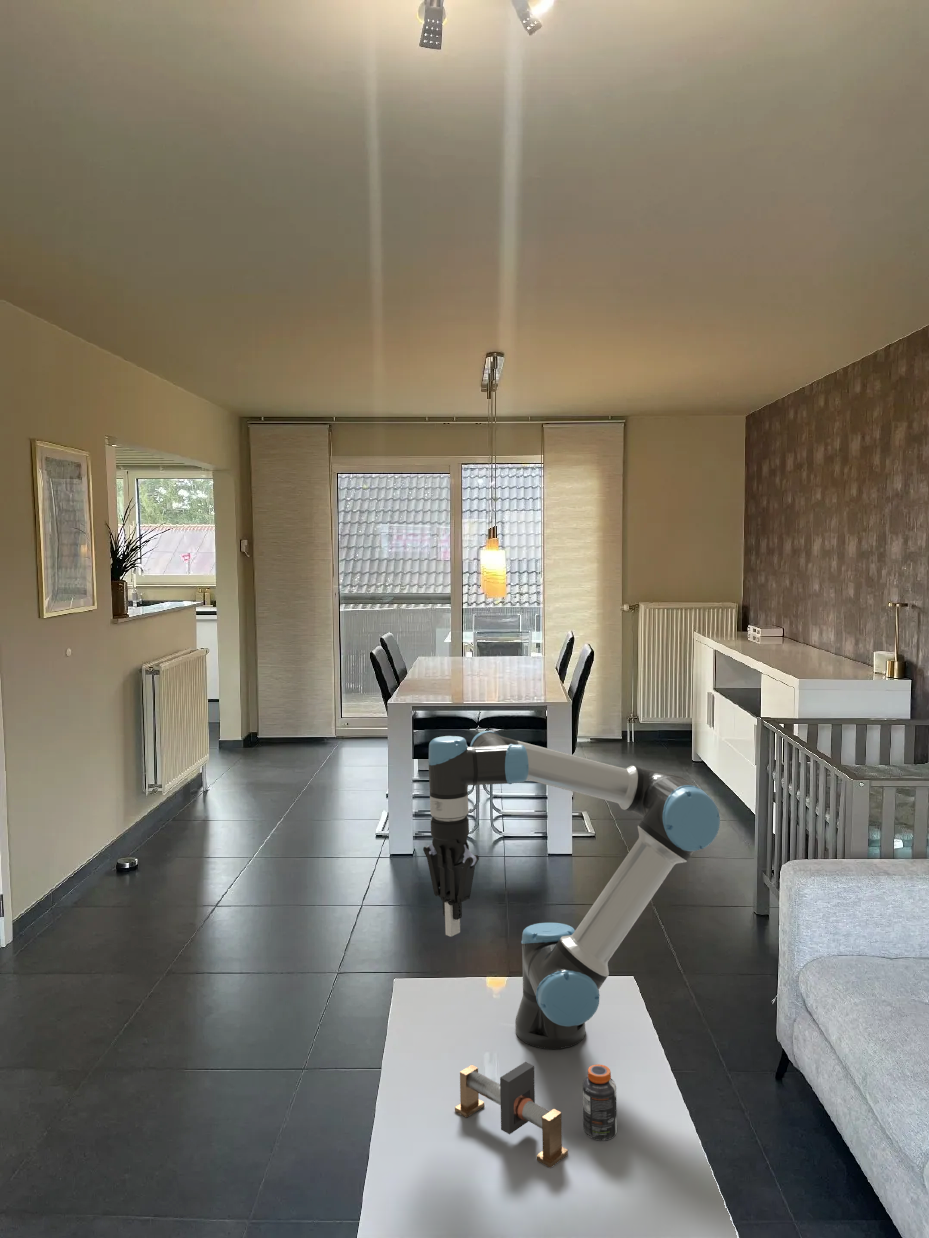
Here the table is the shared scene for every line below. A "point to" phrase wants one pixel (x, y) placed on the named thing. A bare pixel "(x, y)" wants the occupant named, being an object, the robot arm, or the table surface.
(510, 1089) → the grey plate with hole
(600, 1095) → the pill bottle
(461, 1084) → the pipe rig
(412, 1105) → the table surface
